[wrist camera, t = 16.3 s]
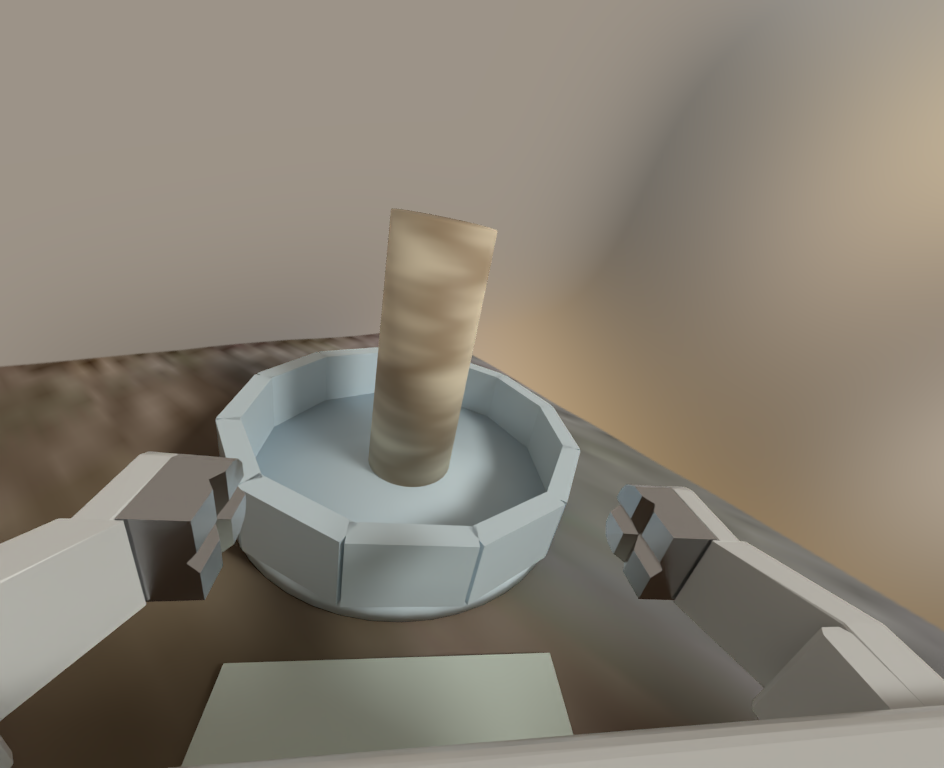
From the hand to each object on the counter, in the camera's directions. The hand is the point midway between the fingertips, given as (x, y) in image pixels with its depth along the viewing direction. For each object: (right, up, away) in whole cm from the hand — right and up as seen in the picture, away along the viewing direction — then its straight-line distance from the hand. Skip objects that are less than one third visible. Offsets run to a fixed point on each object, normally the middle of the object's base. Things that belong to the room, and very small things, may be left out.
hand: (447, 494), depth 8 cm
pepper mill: (-3, -2, +15) cm, 16 cm away
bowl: (-4, -3, +16) cm, 17 cm away
